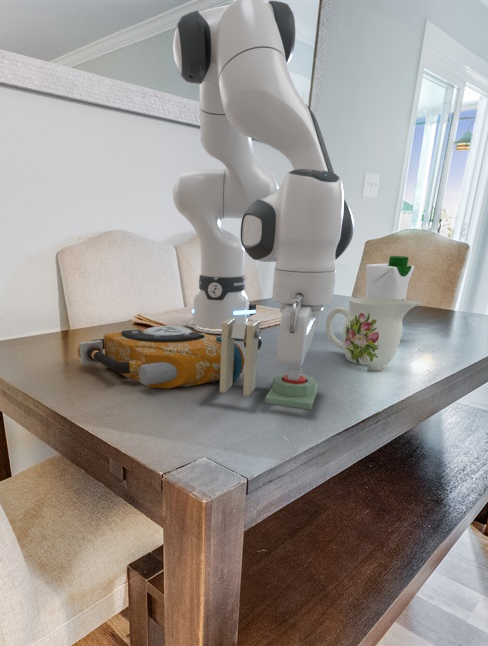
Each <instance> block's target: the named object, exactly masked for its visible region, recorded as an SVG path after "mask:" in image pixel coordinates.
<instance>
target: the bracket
mask: <svg viewBox="0 0 488 646" xmlns="http://www.w3.org/2000/svg"><path fill="white" fill-rule="evenodd" d="M235 320H236V319H235V318H229V319H228V320H226V321H225V322H223V323H222V331H221V334H220V335H221V337H222V339H221V366H220V381H219V393H223V394H226V393H227V392H228V390H230V389H231V387H232V386H233V382H234V380H233V362H234V343H235V342H236V341H235V340H233V339H232V338H231V334H232V327H233V323H235ZM260 321H261V320H260V319H256V320H253V321H252V322H251V323H249V324H248V325H247V335H246V348H245V353H244V354H245V355H244V359H245V361H244V369H243V371H244V373H243V389H242V396H243V397H250V395H252V393H253V392H254V391H255V389H256V379H257V367H258V352H259V350H258V339H259V337H260V336H261V330H260ZM260 338H261V337H260Z"/></svg>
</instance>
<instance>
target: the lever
mask: <svg viewBox="0 0 488 646" xmlns="http://www.w3.org/2000/svg"><path fill="white" fill-rule="evenodd" d="M246 335H247V324H238V323H233V327H232V334H231V338H232V339H233V340H235V341H234V342H243V347H244V348H245V349H246ZM262 341H263V340H262V338H261V337H259V339H258V351H259V350H261V347H262V344H263V342H262Z"/></svg>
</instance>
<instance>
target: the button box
mask: <svg viewBox="0 0 488 646" xmlns="http://www.w3.org/2000/svg"><path fill="white" fill-rule="evenodd" d="M287 374H288V372H285V373H284V372H283V373H279V374H275V375H274V376H273V378H272V386H271V388H270V389H269V391H268V393H267V394H266V396H265V397H264V398H265V399H264V403H265V404H270V405H277V406H283V407H290V408H298V409H305V410H312V407H313V405H314V402H315V399H316V396H317V394H318V391H319V388H320V387H319V385H320V383H318V382H316V379H314V378H313V377H312V376H309V375H306V374H303V373H301V375H302V376H304V377H305V378H306V383H303V384H292V383H287V382H284V381H283V376H284V375H287Z"/></svg>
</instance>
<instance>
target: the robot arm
mask: <svg viewBox="0 0 488 646" xmlns="http://www.w3.org/2000/svg"><path fill="white" fill-rule="evenodd" d="M296 36H297V30H296V21H295V16H294V13H293V10H292V9H291V7H290V5H289V4H288V3H286V2H283V1H278V0H269V1H268V2H265V0H234V1H233V2H231V3H230V4H228V5H223V6H217V7H212V8H209V9H204V10H201V11H199V10H197V9H196V10H194V11H193V10H192V11H190V12H188V13H186V14H184V15H182V16H181V17H180V18H179V20H178V22H177V23H176V26H175V32H174V36H173V41H172V43H173V45H172V51H173V58H174V62H175V65H176V68H177V70H178V72H179V76H180V77H181V78H182V79H183V80H184V81H185V82H187V83H191V84H198V85H199V97H198V98H199V103H198V104H199V128H200V129H199V130H200V142H201V146H202V148H203V150H204V151H205V152H206V153H207V154H208V156H210V157H212V158H214V159H215V160H217V161H219V162H221V163H222V164H223V165H224V166H225V167H226V168H225V169H216V168H215V169H195V170H191V171H190V170H189V171H186V172H183V173H180V175H179V176H178V177H177V178H176V180H175V182H174V184H173V189H172V200H173V203H174V206H175V209H176V210H177V211H178V213H180V215H181V216H183V217H184V218H185V219H186V220H187V221H188V222H189V223H190V225H191V226H192V228H193V229H194V231H195V233H196V235H197V239H198V242H199V249H200V274H199V277H198V278H199V279H198V289H199V291H198V293H197V294H195V295H194V297H193V306H192V309H191V313H192V319H191V321H192V323H193V324H195V325H196V326H199V327H202V328H209V329H222V323H223V322H225V321H226V320H228V319H229V318H235V319H236V320H235V323H238V324H246V323H247V321H248V318H250V317H252V316H254V315H256V314H257V304H256V303H250V300H249V298H248V296H247V294H246V292H245V289H246V281H247V280H246V279H247V277H246V274H244V269H245V253H246V254H247V255H248V256H249V257H250V258H251V259H252V260H255V261H258V262H263V263H275V265H274V269H273V270H274V272H273V282H272V283H273V284H272V285H273V286H272V297H271V300H272V301H273V302H276V303H278V304H279V312H280V313H281V316H280V322H279V329H278V337H277V346H276V355H275V356H276V363H277V364H278V365H281V366H287V373H288V379H289V380H296V381H297V380H299V377H300V375H301V374H302V369H303V363H304V361H305V359H306V356H307V353H308V351H309V348H310V345H311V344H312V342H313V339H314V336H315V333H316V331H317V326H318V324H319V323H318V322H319V318H320V315H322V314H323V311H324V310H323V309H324V306H327V305H331V304H332V303H333V300H334V292H335V284H336V275H337V261H336V260H338V259H339V258H340V256H342V255H343V254H344V253H345V251H346V250H347V248H348V247H349V246H350V244H351V242H352V240H353V236H354V232H355V224H354V222H355V221H354V217H353V214H352V212H351V209H350V207H349V205H348V203H347V201H346V199H345V198H344V188H343V182H342V178H341V177H340V176H339V175H338V174H336V173H335V172H334V168H333V165H332V162H331V159H330V155H329V152H328V150H327V147H326V143H325V140H324V137H323V134H322V131H321V128H320V125H319V123H318V120H317V118H316V115H315V114H314V112H313V110H312V109H311V108H310V107H309V105H307V104H306V102H305V100H304V99H303V98H302V96H301V95H300V94H299V92H298V90H297V88H296V86H295V84H294V82H293V79H292V77H291V75H290V74H291V73H290V72H289V68H288V64H289V62H291V60H292V57H293V53H294V49H295V44H296V38H297V37H296ZM252 139H253V140H256V141H259V142H261V143H263V144H264V145H267V146H269V147H271V148H273V149H275V150H276V151H278V152H279V153H281V154H282V155H284V156H285V157H286V158H287V160H288V161H289V163H290V164H291V165H292V168H293V170H291V171H289V172H287V173H286V174H285V176H284V177H283V180H282V182H281V185H280V186H279V184H278V181H277V179H276V176H274V174H273V173H272V172H271V171H270V170H268V169H267V168H266V167H265V166H263V164H262V163H261V162H260V160H259V159H258V157H257V155H256V152H255V149H254V146H253V141H252ZM224 219H241V222H240V237H238V236H237V235H235V234H233V233H231V232H229V231H227V230H226V229H224V227H223V226H222V220H224ZM186 326H187V327H189V328H192V329H194V330H195V331H196V332H199V333H205V334H214V335H216V334H217V335H222V334H221V331H210V330H204V329H200V328H197V327H195V326H194V325H192V324H189V323H188V322H187V325H186Z"/></svg>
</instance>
